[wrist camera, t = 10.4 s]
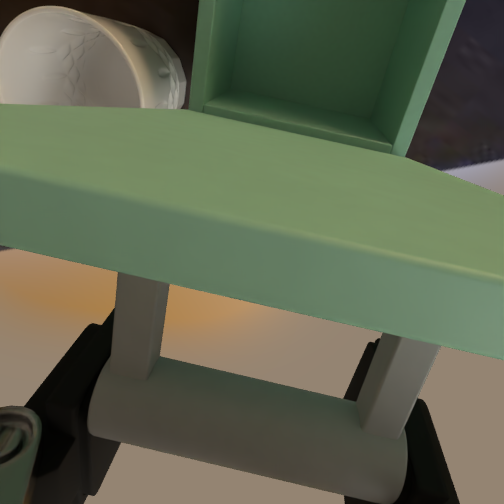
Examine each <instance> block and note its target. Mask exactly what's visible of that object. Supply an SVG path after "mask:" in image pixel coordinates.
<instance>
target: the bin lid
mask: <svg viewBox="0 0 504 504" xmlns="http://www.w3.org/2000/svg"><path fill="white" fill-rule="evenodd" d="M0 245H3V246H7V247H11V248H16V249H20V250H24V251H29V252H33V253H38V254H42V255H46V256H51V257H55V258H59V259H64V260H68V261H72V262H77V263H81V264H86V265H90V266H94V267H99V268H103V269H108V270H112V271H116V272H118V277H117V290H116V301H115V313H114V325H113V337H112V349H111V356H110V358H109V359H108V361H107V362H106V364H105V365H104V367H103V369H102V371H101V373H100V375H99V378H98V380H97V382H96V385H95V388H94V391H93V394H92V397H91V401H90V405H89V410H88V418H87V428H88V431H89V433H91V434H92V435H93V436H97V437H101V438H105V439H110V440H114V441H118V442H122V443H127V444H131V445H135V446H139V447H143V448H148V449H152V450H156V451H160V452H164V453H169V454H173V455H177V456H181V457H185V458H190V459H194V460H198V461H203V462H206V463H211V464H215V465H219V466H224V467H227V468H232V469H236V470H240V471H244V472H248V473H253V474H257V475H261V476H265V477H270V478H274V479H278V480H282V481H286V482H291V483H295V484H299V485H303V486H308V487H312V488H316V489H320V490H324V491H328V492H333V493H337V494H341V495H345V496H349V497H354V498H358V499H362V500H366V501H370V502H375V503H379V504H392V503H394V502H395V501H396V500H397V499H398V497H399V495H400V494H401V491H402V489H403V485H404V482H405V477H406V471H407V457H408V452H407V439H406V433H405V429H404V427H405V424H406V422H407V420H408V418H409V416H410V413H411V411H412V409H413V407H414V405H415V403H416V400H417V398H418V396H419V394H420V391H421V389H422V387H423V385H424V383H425V381H426V378H427V376H428V374H429V372H430V370H431V367H432V365H433V363H434V361H435V359H436V356H437V354H438V352H439V350H440V348H441V346H444V347H448V348H453V349H458V350H462V351H466V352H471V353H475V354H479V355H483V356H488V357H492V358H497V359H501V360H504V195H501V194H498V193H496V192H493V191H490V190H488V189H485V188H483V187H480V186H478V185H475V184H473V183H470V182H467V181H465V180H462V179H460V178H457V177H455V176H452V175H449V174H447V173H444V172H442V171H439V170H437V169H434V168H431V167H429V166H426V165H424V164H421V163H419V162H416V161H413V160H411V159H408V158H405V157H401V156H396V155H392V154H387V153H383V152H378V151H373V150H369V149H364V148H360V147H355V146H351V145H346V144H342V143H337V142H332V141H328V140H323V139H319V138H314V137H310V136H305V135H301V134H296V133H291V132H287V131H282V130H278V129H273V128H269V127H264V126H260V125H255V124H250V123H246V122H241V121H237V120H232V119H228V118H223V117H219V116H214V115H209V114H205V113H200V112H196V111H191V110H182V109H151V108H120V107H89V106H57V105H26V104H0ZM169 284H174V285H178V286H182V287H186V288H190V289H195V290H199V291H204V292H208V293H212V294H217V295H221V296H225V297H230V298H234V299H239V300H243V301H248V302H252V303H256V304H260V305H265V306H269V307H274V308H278V309H283V310H287V311H291V312H295V313H300V314H304V315H308V316H313V317H317V318H322V319H326V320H331V321H335V322H339V323H344V324H348V325H352V326H357V327H361V328H365V329H370V330H374V331H378V332H383V333H382V336H381V339H380V341H379V344H378V346H377V349H376V352H375V354H374V357H373V360H372V362H371V365H370V367H369V370H368V373H367V375H366V378H365V380H364V383H363V386H362V388H361V391H360V393H359V396H358V399H357V401H356V402H354V401H350V400H346V399H341V398H337V397H333V396H328V395H324V394H320V393H316V392H311V391H307V390H303V389H298V388H294V387H290V386H285V385H281V384H277V383H273V382H268V381H264V380H259V379H255V378H251V377H247V376H242V375H238V374H234V373H229V372H225V371H220V370H216V369H212V368H208V367H204V366H200V365H195V364H191V363H186V362H182V361H178V360H173V359H169V358H165V357H161V356H160V350H161V342H162V334H163V328H164V320H165V313H166V306H167V299H168V291H169Z"/></svg>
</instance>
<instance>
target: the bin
mask: <svg viewBox="0 0 504 504" xmlns="http://www.w3.org/2000/svg"><path fill="white" fill-rule="evenodd" d="M465 1H466V0H199V8H198V18H197V28H196V38H195V48H194V59H193V69H192V79H191V89H190V100H189V110H191V111H196V112H200V113H205V114H209V115H214V116H219V117H223V118H228V119H232V120H237V121H241V122H246V123H250V124H255V125H260V126H264V127H269V128H273V129H278V130H282V131H287V132H291V133H296V134H301V135H305V136H310V137H314V138H319V139H323V140H328V141H332V142H337V143H342V144H346V145H351V146H355V147H360V148H364V149H369V150H373V151H378V152H383V153H387V154H392V155H396V156H401V157H405V155H406V152H407V150H408V147H409V145H410V142H411V140H412V137H413V135H414V132H415V129H416V127H417V124H418V122H419V119H420V117H421V114H422V111H423V109H424V106H425V104H426V101H427V99H428V96H429V93H430V91H431V88H432V86H433V83H434V81H435V78H436V75H437V73H438V70H439V68H440V65H441V63H442V60H443V57H444V55H445V52H446V50H447V47H448V45H449V42H450V39H451V37H452V34H453V32H454V29H455V27H456V24H457V21H458V19H459V16H460V14H461V11H462V9H463V6H464V3H465Z"/></svg>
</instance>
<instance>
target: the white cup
mask: <svg viewBox="0 0 504 504" xmlns="http://www.w3.org/2000/svg"><path fill="white" fill-rule="evenodd" d="M185 90H186V78H185V75H184V71H183V68H182V65H181V61H180V58H179V57H178V56H177V54H176V53H175V52H174V51H173V49H172V48H171V47H170V46H169V45H168V43H167V42H166V41H165V40H164V39H162V38H160V37H159V36H157V35H155V34H153V33H151V32H149V31H147V30H145V29H141V28H138V27H136V26H133V25H130V24H127V23H124V22H121V21H117V20H114V19H110V18H106V17H102V16H98V15H94V14H89V13H85V12H81V11H77V10H74V9H70V8H66V7H60V6H41V7H36V8H33V9H30V10H27V11H25V12H23V13H21V14H20V15H18V16H17V17H16V18H14V19H13V20H12V21H11V22H10V23H9V24H8V26H7V27H6V28H5V30H4V31H3V33H2V35H1V37H0V104H26V105H57V106H89V107H120V108H151V109H181V107H182V106H183V104H184V100H185Z"/></svg>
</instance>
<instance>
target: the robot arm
mask: <svg viewBox="0 0 504 504" xmlns="http://www.w3.org/2000/svg"><path fill="white" fill-rule="evenodd" d="M114 313H115V308H114V309H113V311H112V312H111V313H110V315H109V316H108V317H107V319H106V320H105V321H104V323H103V324H102V325H98V324H94V323H92V324H90V325H88V326H87V327H86V328H85V330H84V331H83V332H82V333H81V335H80V336H79V337H78V338H77V340H76V341H75V342H74V344H73V345H72V346H71V347H70V349H69V350H68V351H67V352H66V354H65V355H64V356H63V357H62V359H61V360H60V362H59V363H58V364H57V365H56V366H55V368H54V369H53V370H52V372H51V373H50V374H49V375H48V377H47V378H46V379H45V381H44V382H43V383H42V384H41V385H40V387H39V388H38V389H37V391H36V392H35V393H34V394H33V396H32V397H31V398H30V399H29V401H28V402H27V403H26V405H25V406H24V407H23V406H6V407H0V504H84V502H85V500H86V498H87V496H88V495H92V496H95V495H96V493H97V492H98V490H99V488H100V486H101V484H102V482H103V480H104V477H105V475H106V473H107V471H108V469H109V466H110V464H111V463H112V460H113V458H114V456H115V454H116V452H117V450H118V448H119V445H120V443H121V442H118V441H114V440H110V439H105V438H101V437H97V436H93V435H92V434H91V433H89V431H88V428H87V418H88V410H89V405H90V401H91V397H92V394H93V391H94V388H95V385H96V382H97V380H98V378H99V375H100V373H101V371H102V369H103V367H104V365H105V364H106V362H107V361H108V359H109V358H110V356H111V349H112V337H113V325H114ZM379 341H380V338H378V339H377V340H376V341H375V343H373V342H369V343H368V344H367V347H366V349H365V351H364V353H363V356H362V358H361V360H360V362H359V364H358V367H357V369H356V371H355V373H354V376H353V378H352V380H351V382H350V385H349V387H348V389H347V391H346V394H345V396H344V398H343V399H346V400H350V401H354V402H356V401H357V399H358V396H359V393H360V391H361V388H362V386H363V383H364V380H365V378H366V375H367V373H368V370H369V367H370V365H371V362H372V360H373V357H374V354H375V352H376V349H377V346H378V344H379ZM404 429H405V433H406V439H407V452H408V457H407V471H406V477H405V482H404V485H403V489H402V491H401V494H400V495H399V497H398V499H397V500H396V501H395V502H394V503H392V504H460V503H459V500H458V497H457V494H456V491H455V488H454V485H453V482H452V479H451V476H450V473H449V470H448V467H447V464H446V461H445V458H444V455H443V452H442V449H441V446H440V443H439V440H438V437H437V434H436V431H435V428H434V425H433V422H432V419H431V416H430V413H429V410H428V407H427V405H426V403H425V402H424V401H423V400H422V399H418V398H417V400H416V403H415V405H414V407H413V409H412V411H411V413H410V416H409V418H408V420H407V422H406V424H405V427H404ZM344 501H345V504H379V503H375V502H370V501H366V500H362V499H358V498H354V497H349V496H345V495H344Z"/></svg>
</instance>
